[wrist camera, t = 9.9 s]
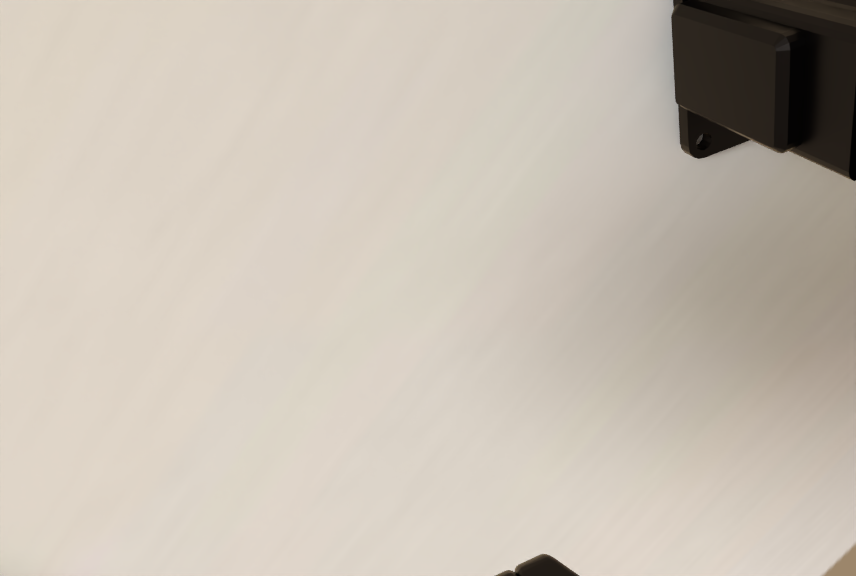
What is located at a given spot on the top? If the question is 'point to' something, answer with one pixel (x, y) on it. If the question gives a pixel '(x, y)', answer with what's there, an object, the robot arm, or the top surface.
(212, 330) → the top surface
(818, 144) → the robot arm
